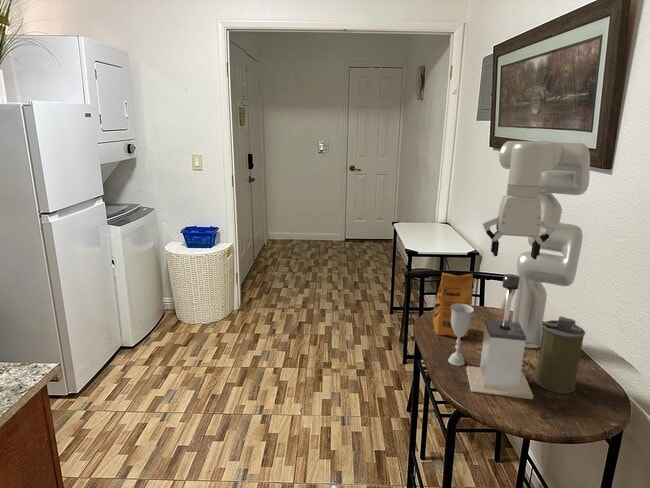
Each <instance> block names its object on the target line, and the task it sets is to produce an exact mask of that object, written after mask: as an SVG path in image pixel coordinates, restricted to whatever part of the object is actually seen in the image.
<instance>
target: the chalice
mask: <svg viewBox="0 0 650 488" xmlns="http://www.w3.org/2000/svg"><path fill="white" fill-rule="evenodd" d="M451 310H452V314H451V325H452V328H453V331H454V334H455V335H456V336H457V337H456V338H457V339H456V341H455V343H456V345H455V346H454V348H455V350H456V351H455V352H452V353H451V355H450V356H449V358H448V359H447V361H448V363H450V364H451V365H454V366H459V367H460V366H464V365H465V363H466V362H465V358H464V356H463V355H462V353H460V350H461V349H462V348H461V343H462V341H461V338H463V336H464V335H465V333H466V332H467V330H468V329H469V330H470V327H471V321H472V313H474V307H472V305H471V306H469V305H466V304H459V303H457V304H452V305H451Z"/></svg>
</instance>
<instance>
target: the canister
mask: <svg viewBox="0 0 650 488" xmlns="http://www.w3.org/2000/svg"><path fill="white" fill-rule="evenodd" d="M541 324H542V330H543V332H542V339H541V346H540V348H539V349H538V348H536V351H538V350H539V353H536V354H535V355H536V356H535V357H537V354H538V359H537V365H536V373H535V376H534V381H535V383H537V385H538V386H540V387H542V388H543V389H545V390H547V391H549V392H554V393H557V394H570V393H573V392H574V391H575V389H576V379H577V374H578V369H579V364H580V359H581V353H582V347H583V342H584V336H585V335H586V331H585V330H584V329H583V327H580V326H578V325H577V324H576V320H575V319H572V318H568V317H565V316H559V317H558V320H546V321H544V320H543V321H542V323H541ZM540 331H541V328H540ZM539 337H540V335H539ZM538 344H539V341H538Z"/></svg>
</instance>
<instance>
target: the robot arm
mask: <svg viewBox="0 0 650 488" xmlns="http://www.w3.org/2000/svg"><path fill="white" fill-rule="evenodd" d="M498 160H499V164H500V166H501V167H502V168H503V169H505V170H509V171H508V172H509V173H508V181H507V188H506V195H503V196H502V198H501V201H500V204H499V208H498V213H497V217H495V218H493V219H490V220H488V221H486V222H485V221H484V222H483V223H482V226H483V228H484V231H485V233H486V235H487V236H488V237H489V238H490V239H491V247H490V253H492V255H493V257H498V253H499V248H500V247H499V245H500V241H499V240H500V238H501V237H503V236H509V237H510V236H512V237H526V238H527V242H528V245H529V246H530V247H531V251H525V252H521V254H519V256H518V257H517V261H516V275H517V276H519V277H520V280H519V288H518V289H516V290H515V298H514V304H513V305H514V306H513V313H512V320H511V322H516V323H519V324H520V326H521V328H522V330H523V332H524V334H525V336H526V341H525V348H527V349H537V348H539V349H540V346H541V339H542V332H543V324H541V323H542V321H543V322H544V317H545V311H546V304H547V295H548V294H547V290H546V288H545V287H544V285H543V284H544V283H545V284H548V285H549V284H550V285H555V286H560V287H570V286H572V284H573V283H574V281H575V278H576V274H577V270H578V269H577V268H578V264H579V259H580V255H581V254H580V253H581V250H582V249H581V248H582V244H583V231H582V229H581V227H580V226H578V225H575V224H572V223H563V222H561V217H562V213H563V208H562V205H561V203H560V202H559V200H558V199H557V198H556V196H555V195H554V194H559V195H567V196H568V195H570V196H580V195H583V194H584V193H586V192H587V190H588V187H589V185H590V172H591V170H590V169H591V153H590V150H589V147H588V146H587V145H586V144H585V143H582V142H559V141H558V142H557V141H550V140H549V141H548V140H540V141H539V140H537V141H536V140H533V141H531V140H525V141H524V140H508V141H506V142H504V143H503V145H502V146H501V148H500V150H499V154H498ZM494 225H495V229H496V231H495V232H494V233H493V232H492V230H491V227H492V226H494ZM541 250H545V251H550V252H557V253H561V254H562V255H557V254H550V253H545V252H541ZM540 328H541V331H540ZM539 335H540V337H539ZM538 341H539V344H538Z"/></svg>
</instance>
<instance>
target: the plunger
mask: <svg viewBox="0 0 650 488" xmlns="http://www.w3.org/2000/svg"><path fill="white" fill-rule="evenodd" d="M519 280H520V277H519V276H517V274H513V273H505V274H504V275H503V279H502V287H503V288H505V289H506V294H505V295H506V296H505V297H506V298H505V304H504V311H503V320H502V321H503V326H502V329H503V330H508V323H509V322H510V321H509V320H510V314H511V306H512V299H513V293H514V290H515V291H516V289H518V288H519Z"/></svg>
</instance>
